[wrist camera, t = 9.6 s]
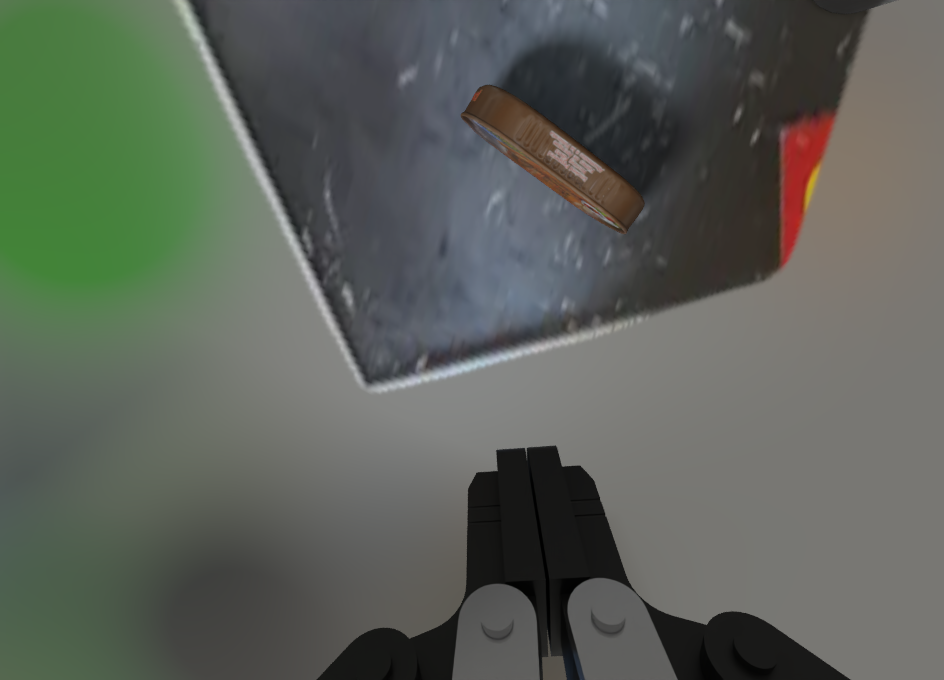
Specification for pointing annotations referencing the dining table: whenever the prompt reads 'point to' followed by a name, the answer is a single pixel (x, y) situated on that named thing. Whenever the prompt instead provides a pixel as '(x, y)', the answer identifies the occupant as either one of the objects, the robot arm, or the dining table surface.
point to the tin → (553, 157)
